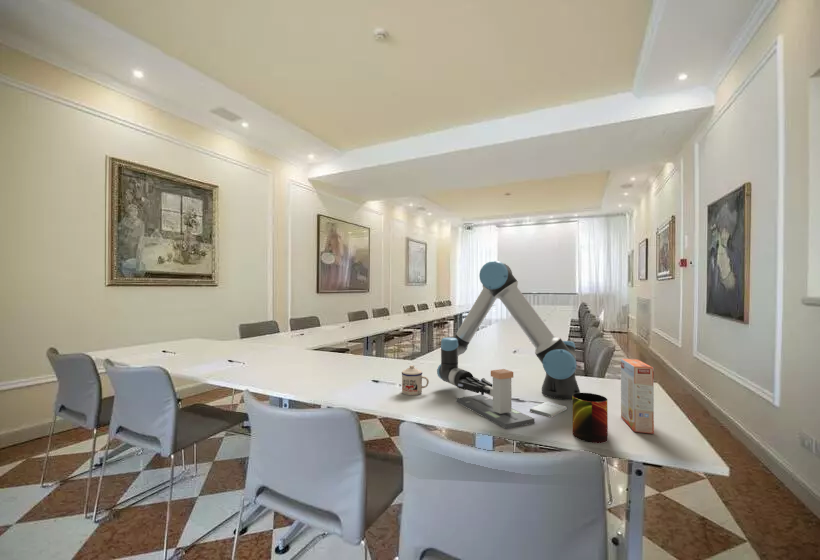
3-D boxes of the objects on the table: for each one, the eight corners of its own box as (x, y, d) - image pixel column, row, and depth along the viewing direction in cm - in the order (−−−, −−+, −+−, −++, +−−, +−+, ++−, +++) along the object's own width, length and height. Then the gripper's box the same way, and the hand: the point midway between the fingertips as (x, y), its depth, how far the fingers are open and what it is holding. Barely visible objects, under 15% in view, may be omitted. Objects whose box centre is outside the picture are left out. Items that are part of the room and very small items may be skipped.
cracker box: (655, 434, 111) (654, 367, 112) (633, 432, 113) (632, 365, 113) (639, 419, 125) (639, 358, 125) (620, 417, 126) (619, 357, 127)
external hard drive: (529, 412, 132) (545, 405, 141) (551, 418, 126) (566, 410, 135) (529, 408, 132) (545, 401, 141) (551, 414, 126) (566, 406, 135)
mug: (602, 427, 117) (602, 390, 117) (610, 445, 104) (610, 403, 104) (570, 424, 120) (569, 388, 120) (574, 440, 107) (573, 400, 107)
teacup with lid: (398, 394, 153) (398, 367, 153) (405, 388, 162) (405, 362, 162) (425, 397, 149) (425, 369, 150) (431, 391, 158) (431, 364, 158)
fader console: (456, 402, 143) (456, 397, 143) (481, 398, 148) (481, 394, 148) (506, 428, 116) (506, 423, 116) (534, 423, 121) (534, 418, 121)
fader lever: (490, 410, 128) (490, 370, 128) (504, 407, 130) (504, 368, 131) (499, 414, 123) (499, 373, 123) (513, 411, 126) (513, 371, 126)
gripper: (474, 385, 153) (511, 402, 131) (448, 389, 147) (482, 406, 126) (474, 368, 153) (511, 381, 132) (448, 371, 148) (482, 385, 126)
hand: (497, 393), depth 129 cm, fingers closed
